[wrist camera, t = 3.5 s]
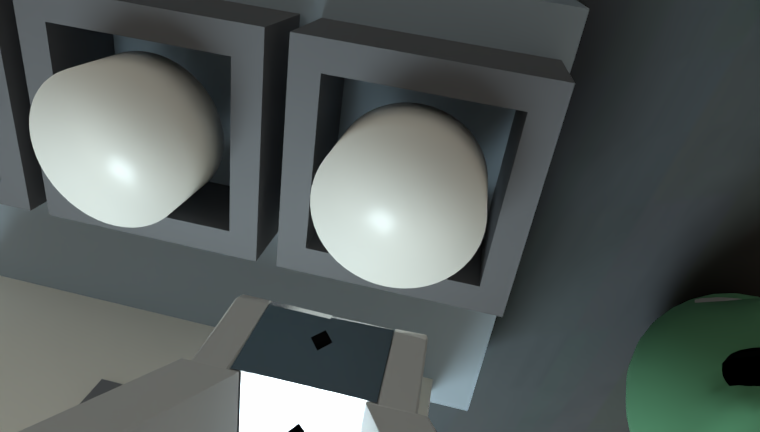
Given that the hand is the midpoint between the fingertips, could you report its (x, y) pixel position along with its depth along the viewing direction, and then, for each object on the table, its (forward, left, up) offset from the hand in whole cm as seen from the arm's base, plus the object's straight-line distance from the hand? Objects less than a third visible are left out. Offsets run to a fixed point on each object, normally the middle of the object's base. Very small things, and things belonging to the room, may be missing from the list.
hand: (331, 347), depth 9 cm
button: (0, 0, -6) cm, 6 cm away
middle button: (+7, 0, -6) cm, 9 cm away
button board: (+7, +2, -11) cm, 13 cm away
